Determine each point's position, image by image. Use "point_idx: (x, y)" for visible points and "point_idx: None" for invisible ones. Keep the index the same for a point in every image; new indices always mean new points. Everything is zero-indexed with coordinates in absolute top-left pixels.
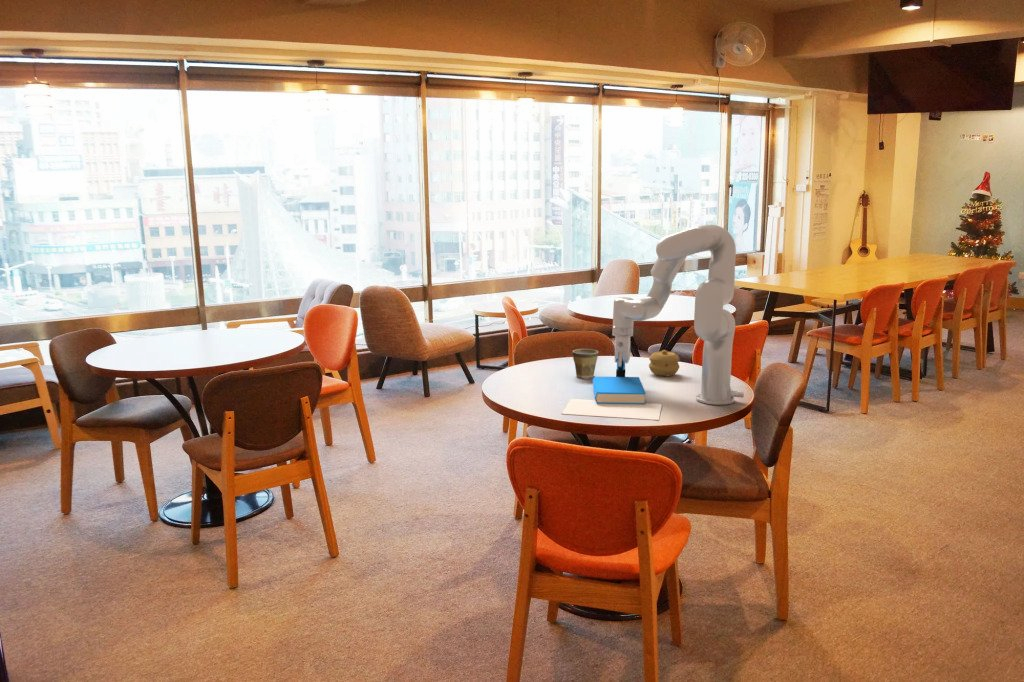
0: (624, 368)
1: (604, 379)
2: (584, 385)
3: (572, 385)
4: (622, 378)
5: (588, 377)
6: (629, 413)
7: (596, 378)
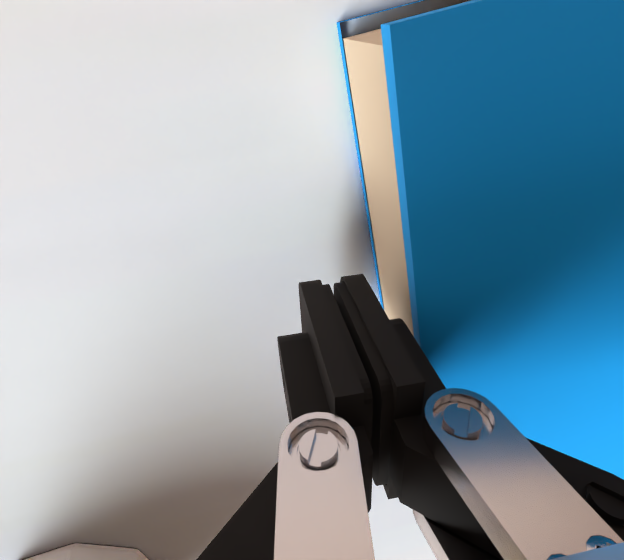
0: (435, 422)
1: (581, 446)
2: (378, 499)
3: (392, 540)
4: (537, 301)
5: (138, 558)
6: None
7: None
